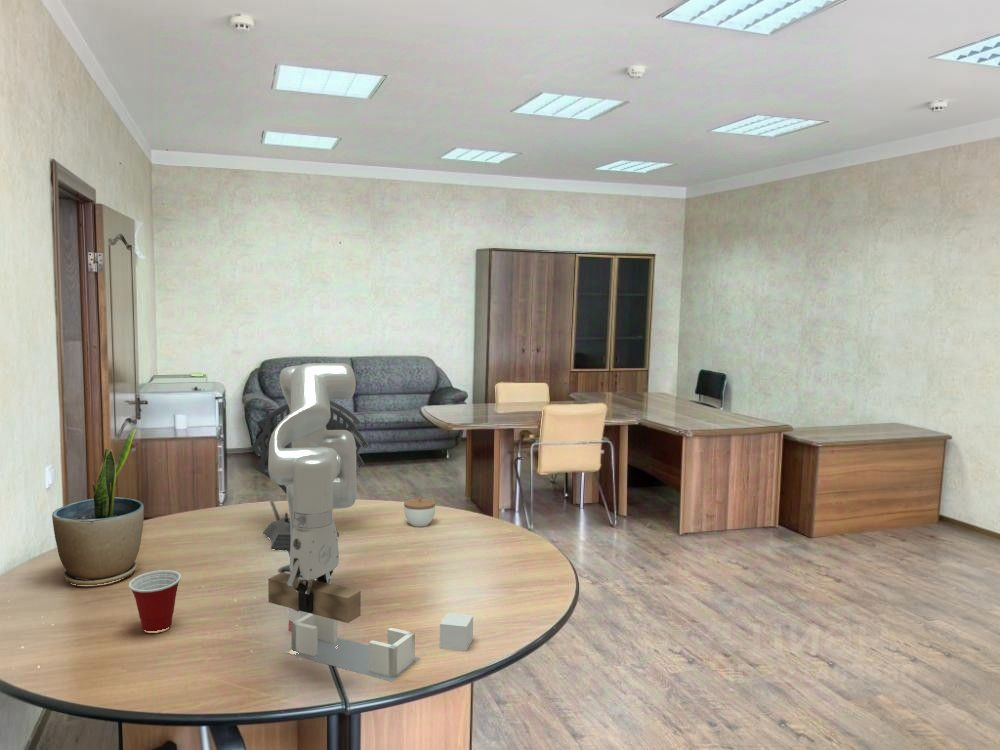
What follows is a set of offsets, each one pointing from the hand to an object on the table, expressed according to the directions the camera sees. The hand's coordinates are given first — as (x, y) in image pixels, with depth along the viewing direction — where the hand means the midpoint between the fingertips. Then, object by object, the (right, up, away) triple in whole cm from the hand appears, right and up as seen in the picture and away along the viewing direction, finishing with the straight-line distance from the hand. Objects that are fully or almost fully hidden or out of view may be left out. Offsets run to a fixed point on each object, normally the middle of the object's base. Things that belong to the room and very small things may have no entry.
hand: (313, 606), depth 149 cm
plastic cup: (-41, -12, +21) cm, 48 cm away
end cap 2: (+15, -14, +5) cm, 21 cm away
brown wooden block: (0, -1, 0) cm, 1 cm away
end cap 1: (-3, -13, +13) cm, 19 cm away
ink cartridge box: (-7, -13, +23) cm, 27 cm away
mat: (+6, -14, +9) cm, 18 cm away
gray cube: (+28, -14, +16) cm, 35 cm away
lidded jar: (+10, -5, +106) cm, 107 cm away
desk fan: (-25, -6, +87) cm, 91 cm away
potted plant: (-71, -9, +53) cm, 89 cm away
